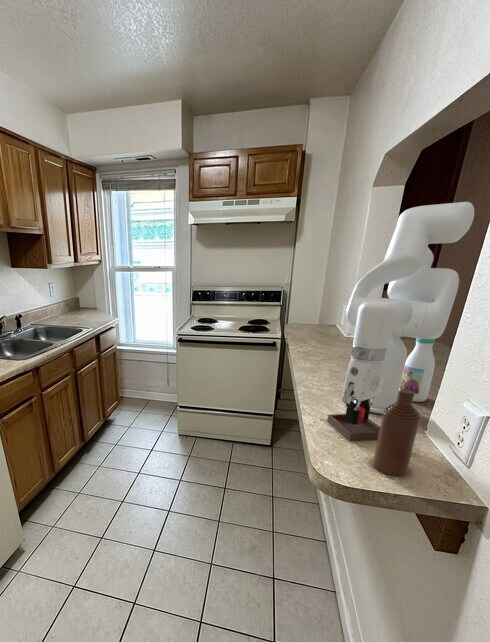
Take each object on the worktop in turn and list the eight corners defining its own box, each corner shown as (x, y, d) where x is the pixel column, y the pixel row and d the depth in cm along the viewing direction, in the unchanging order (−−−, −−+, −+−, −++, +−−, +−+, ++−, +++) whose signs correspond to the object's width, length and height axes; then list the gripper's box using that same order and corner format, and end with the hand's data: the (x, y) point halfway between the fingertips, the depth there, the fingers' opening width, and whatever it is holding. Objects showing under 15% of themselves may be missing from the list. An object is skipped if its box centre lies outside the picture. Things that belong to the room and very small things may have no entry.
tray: (327, 421, 99) (328, 414, 99) (359, 419, 100) (360, 413, 99) (349, 440, 89) (350, 433, 88) (385, 438, 89) (387, 431, 88)
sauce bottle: (366, 460, 80) (381, 386, 74) (393, 459, 80) (410, 385, 74) (384, 477, 74) (402, 397, 68) (414, 475, 74) (434, 396, 68)
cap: (355, 423, 91) (357, 412, 90) (343, 417, 94) (345, 406, 93) (366, 421, 92) (369, 410, 91) (354, 415, 96) (356, 404, 94)
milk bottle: (415, 393, 117) (429, 333, 110) (432, 402, 110) (448, 339, 103) (392, 394, 117) (405, 334, 110) (408, 403, 110) (422, 339, 103)
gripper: (363, 361, 80) (350, 434, 86) (403, 351, 88) (388, 418, 94) (333, 354, 86) (323, 422, 92) (373, 345, 94) (361, 409, 100)
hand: (356, 419), depth 93 cm, fingers closed on cap, 3 cm apart
